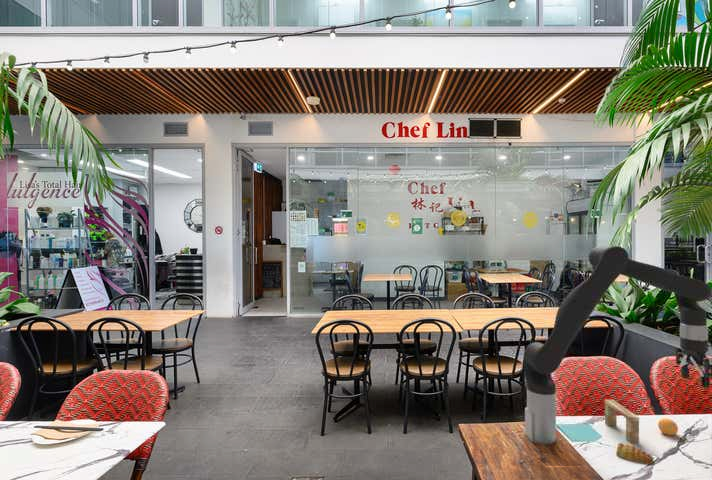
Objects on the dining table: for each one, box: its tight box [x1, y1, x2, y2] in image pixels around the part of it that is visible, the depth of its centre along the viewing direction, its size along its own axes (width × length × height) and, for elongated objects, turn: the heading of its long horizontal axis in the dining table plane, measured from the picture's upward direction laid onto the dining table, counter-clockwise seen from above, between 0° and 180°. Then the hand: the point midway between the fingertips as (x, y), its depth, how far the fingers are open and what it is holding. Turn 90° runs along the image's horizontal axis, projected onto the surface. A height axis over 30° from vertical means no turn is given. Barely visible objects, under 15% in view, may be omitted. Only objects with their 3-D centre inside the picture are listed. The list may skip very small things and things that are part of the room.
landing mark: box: [556, 423, 603, 442], centre depth 140 cm, size 12×12×1 cm
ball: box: [657, 417, 679, 437], centre depth 138 cm, size 6×6×6 cm
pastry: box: [615, 442, 654, 465], centre depth 123 cm, size 9×7×4 cm
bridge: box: [604, 399, 640, 444], centre depth 139 cm, size 3×14×9 cm, turn 177°
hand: (695, 382), depth 137 cm, fingers open, 8 cm apart
